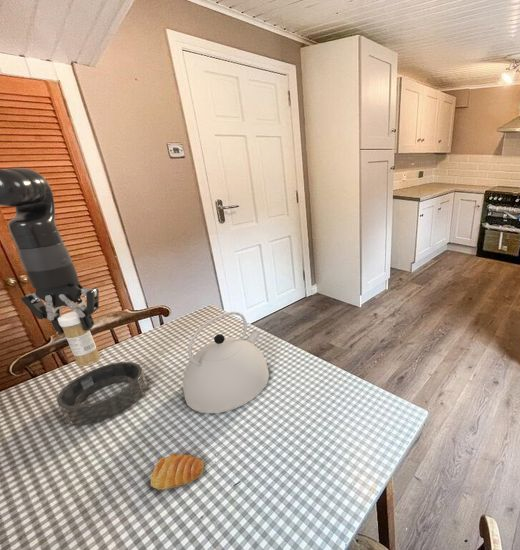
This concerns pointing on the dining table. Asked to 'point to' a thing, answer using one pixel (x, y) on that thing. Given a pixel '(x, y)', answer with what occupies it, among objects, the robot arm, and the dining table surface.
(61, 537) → the dining table surface
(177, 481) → the pastry
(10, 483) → the dining table surface
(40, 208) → the robot arm
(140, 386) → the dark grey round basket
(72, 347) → the sprinkles bottle
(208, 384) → the kettle
